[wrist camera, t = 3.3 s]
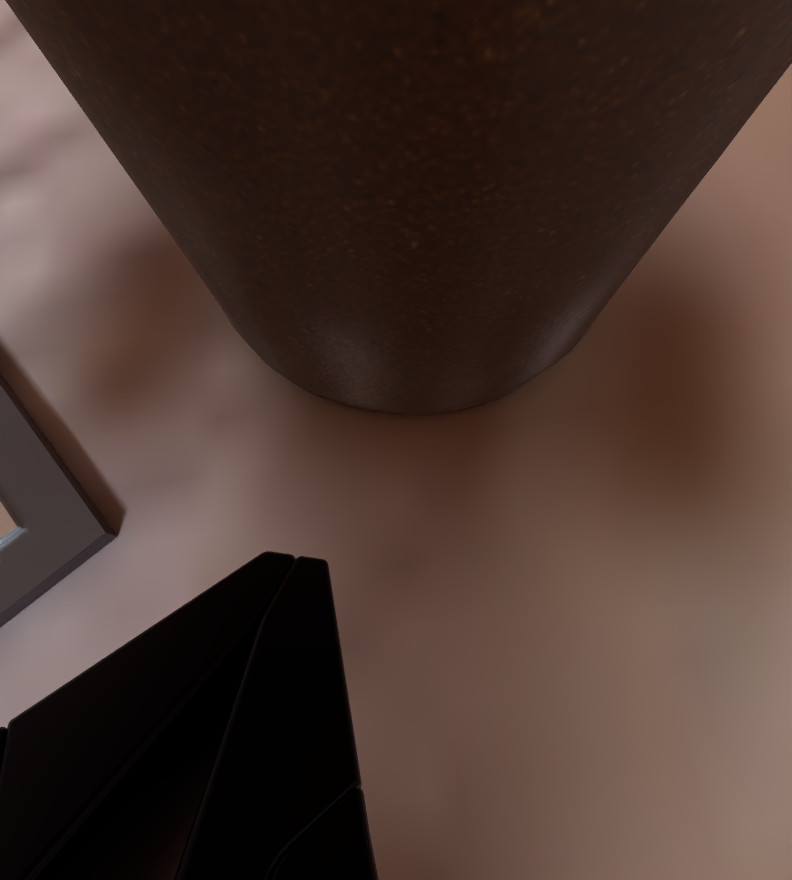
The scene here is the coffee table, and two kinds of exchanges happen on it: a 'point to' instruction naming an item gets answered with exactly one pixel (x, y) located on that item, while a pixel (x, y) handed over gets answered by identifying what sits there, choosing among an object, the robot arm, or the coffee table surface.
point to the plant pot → (414, 164)
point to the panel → (39, 512)
